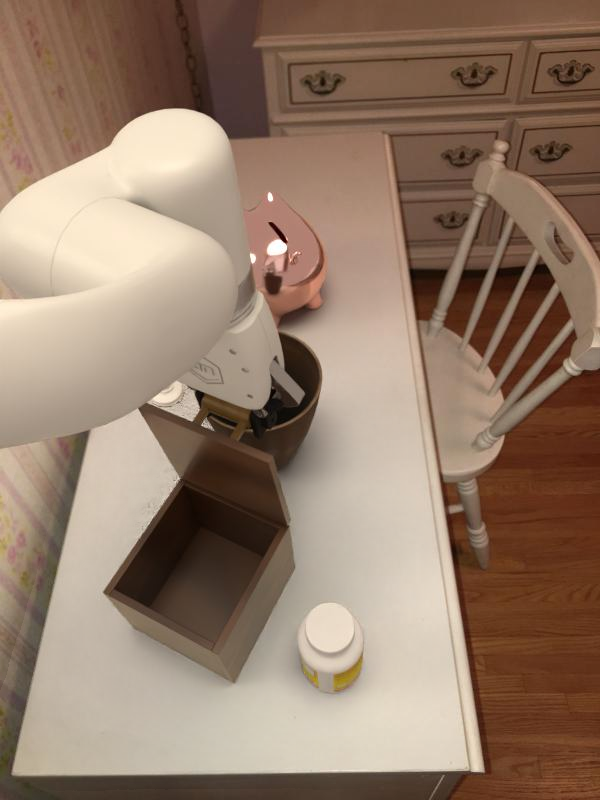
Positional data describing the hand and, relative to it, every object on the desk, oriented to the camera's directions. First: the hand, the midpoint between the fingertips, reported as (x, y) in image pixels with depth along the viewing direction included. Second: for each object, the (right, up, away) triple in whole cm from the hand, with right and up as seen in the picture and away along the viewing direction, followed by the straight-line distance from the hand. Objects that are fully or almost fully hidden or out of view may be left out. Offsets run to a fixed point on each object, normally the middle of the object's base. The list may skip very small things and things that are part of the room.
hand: (239, 414), depth 62 cm
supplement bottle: (+9, -27, +8) cm, 30 cm away
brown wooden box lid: (-2, -6, 0) cm, 6 cm away
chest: (-4, -22, +13) cm, 26 cm away
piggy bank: (+2, +18, +42) cm, 46 cm away
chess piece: (-13, +2, +31) cm, 34 cm away
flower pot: (+2, -5, +25) cm, 25 cm away
